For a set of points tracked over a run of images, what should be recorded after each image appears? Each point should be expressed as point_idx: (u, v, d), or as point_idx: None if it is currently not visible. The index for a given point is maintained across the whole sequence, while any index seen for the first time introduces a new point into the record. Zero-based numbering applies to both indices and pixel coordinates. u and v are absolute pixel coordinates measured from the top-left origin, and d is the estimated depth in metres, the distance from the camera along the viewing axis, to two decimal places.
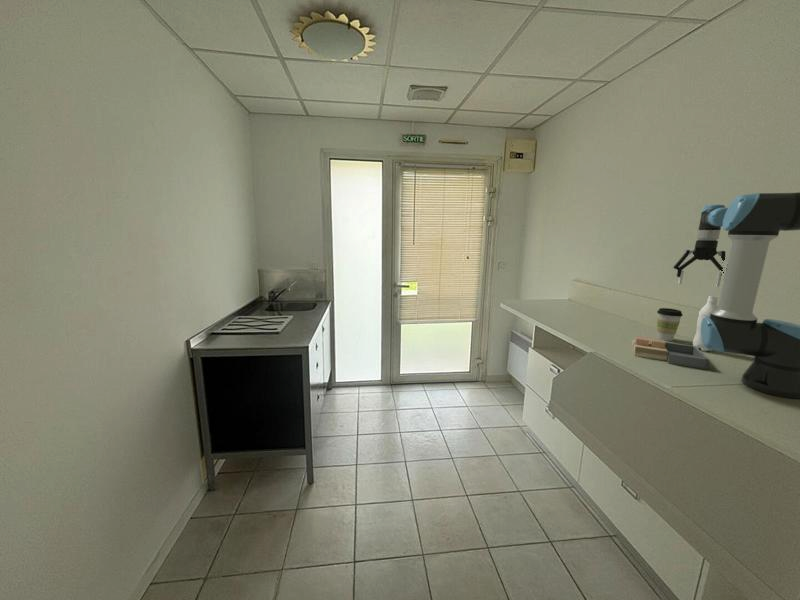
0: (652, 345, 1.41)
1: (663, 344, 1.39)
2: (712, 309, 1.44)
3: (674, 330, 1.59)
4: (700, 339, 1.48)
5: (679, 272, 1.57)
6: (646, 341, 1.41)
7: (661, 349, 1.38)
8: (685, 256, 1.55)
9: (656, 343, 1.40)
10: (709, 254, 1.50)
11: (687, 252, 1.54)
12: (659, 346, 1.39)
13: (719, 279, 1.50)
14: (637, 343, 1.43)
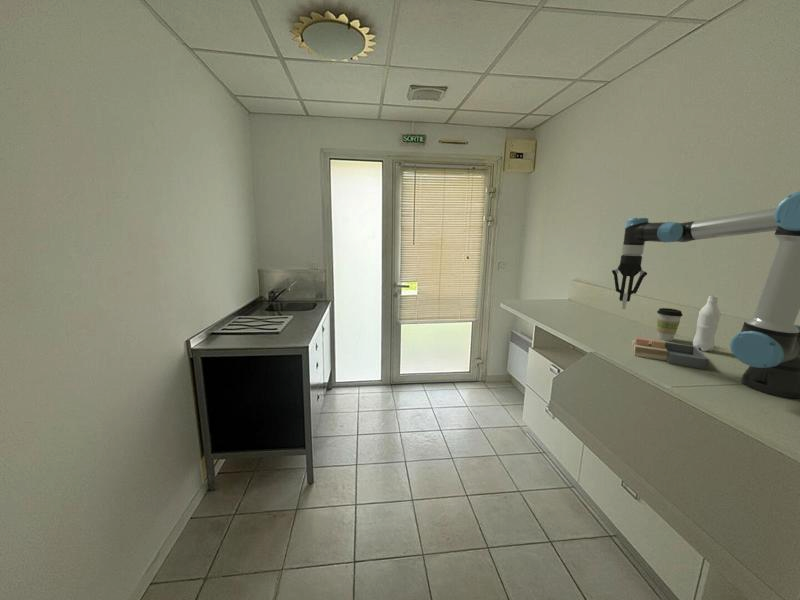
0: (652, 345, 1.41)
1: (663, 344, 1.39)
2: (712, 309, 1.44)
3: (674, 330, 1.59)
4: (700, 339, 1.48)
5: (621, 295, 1.44)
6: (646, 341, 1.41)
7: (661, 349, 1.38)
8: (615, 277, 1.44)
9: (656, 343, 1.40)
10: (633, 270, 1.40)
11: (614, 272, 1.44)
12: (659, 346, 1.39)
13: (625, 301, 1.43)
14: (637, 343, 1.43)
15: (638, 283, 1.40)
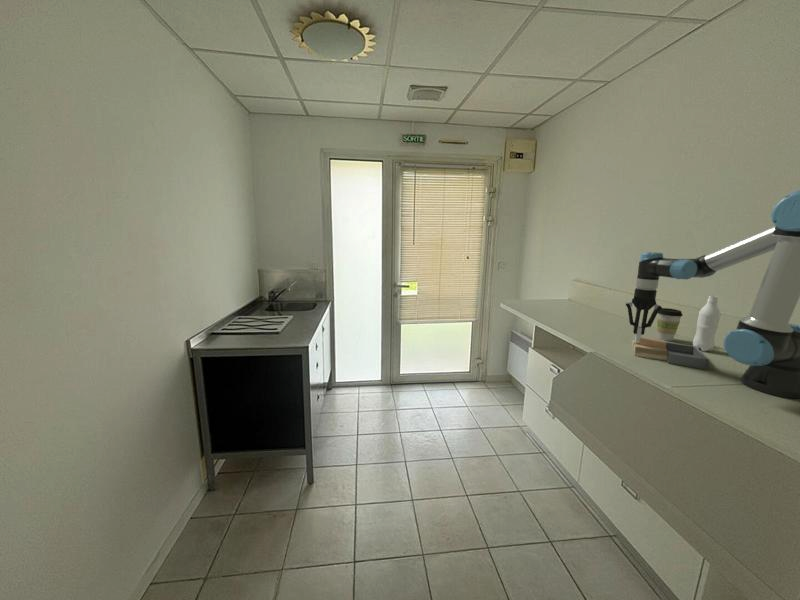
0: (653, 345, 1.40)
1: (664, 344, 1.38)
2: (712, 309, 1.44)
3: (674, 330, 1.59)
4: (700, 339, 1.48)
5: (635, 329, 1.44)
6: (650, 342, 1.41)
7: (661, 349, 1.38)
8: (629, 310, 1.43)
9: (657, 343, 1.40)
10: (647, 304, 1.39)
11: (628, 306, 1.43)
12: (660, 346, 1.39)
13: (639, 334, 1.43)
14: (641, 344, 1.42)
15: (652, 317, 1.40)
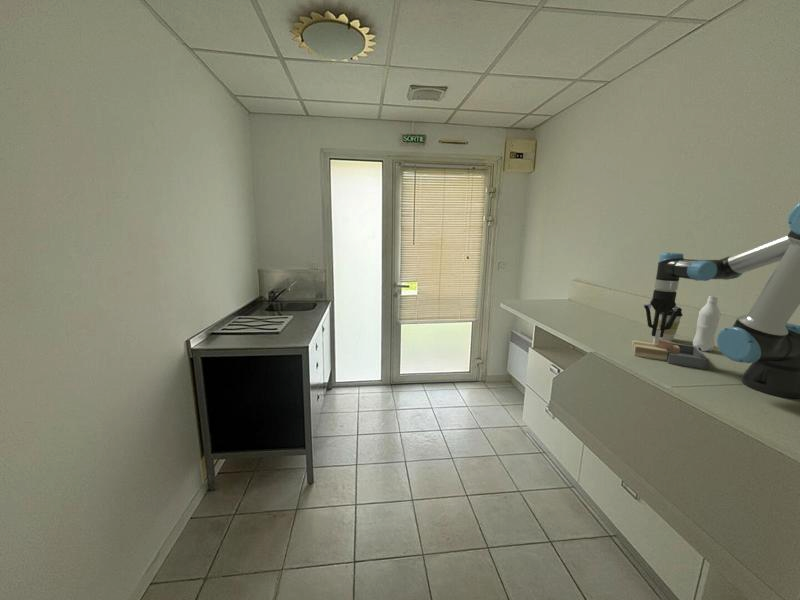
0: (674, 348, 1.37)
1: None
2: (712, 309, 1.44)
3: (674, 330, 1.59)
4: (700, 339, 1.48)
5: (654, 331, 1.40)
6: (669, 344, 1.38)
7: (661, 349, 1.38)
8: (648, 312, 1.40)
9: (677, 351, 1.37)
10: (667, 306, 1.36)
11: (646, 307, 1.40)
12: None
13: (658, 337, 1.40)
14: (660, 346, 1.39)
15: (672, 319, 1.36)
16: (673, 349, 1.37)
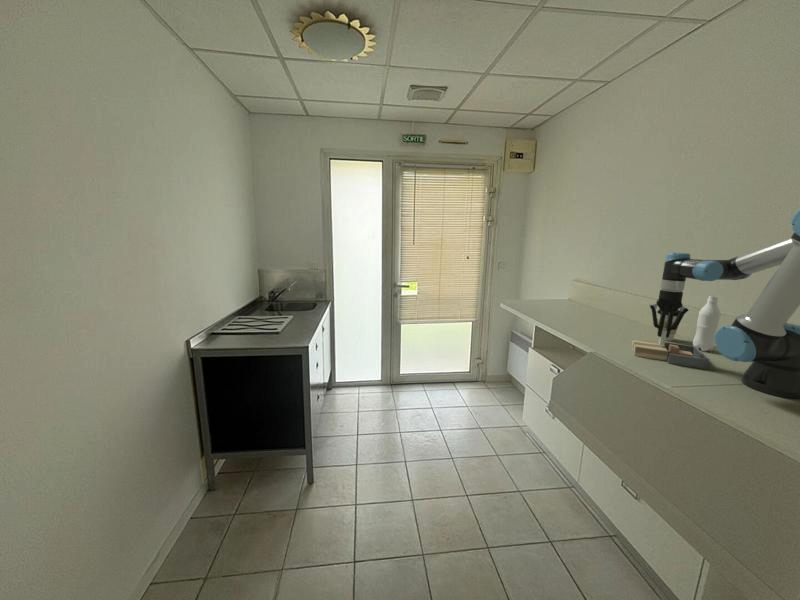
0: (691, 356, 1.35)
1: None
2: (712, 309, 1.44)
3: (674, 330, 1.59)
4: (700, 339, 1.48)
5: (660, 331, 1.40)
6: None
7: (661, 349, 1.38)
8: (654, 312, 1.39)
9: None
10: (673, 306, 1.35)
11: (652, 308, 1.39)
12: (684, 355, 1.36)
13: (664, 337, 1.39)
14: (673, 349, 1.37)
15: (678, 319, 1.35)
16: (690, 355, 1.35)
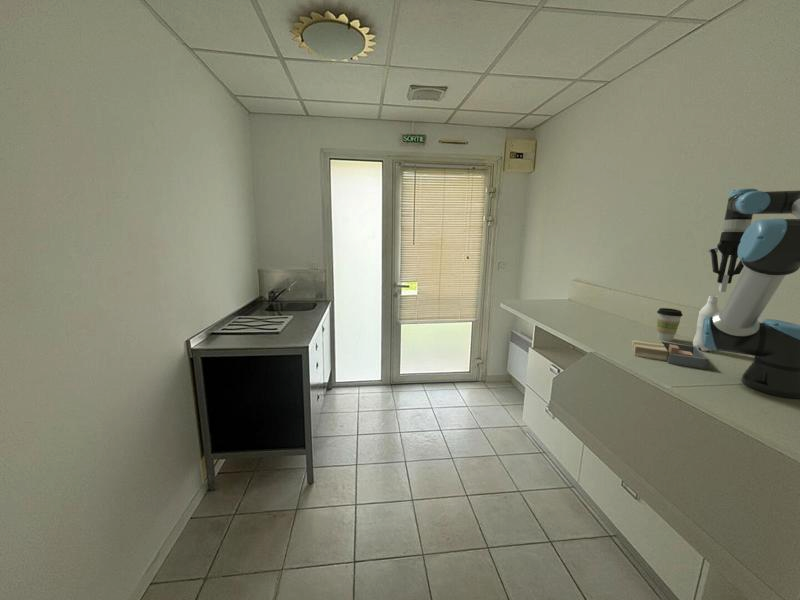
0: (691, 356, 1.35)
1: None
2: (712, 309, 1.44)
3: (674, 330, 1.59)
4: (700, 339, 1.48)
5: (721, 277, 1.30)
6: None
7: (661, 349, 1.38)
8: (715, 256, 1.29)
9: None
10: (737, 248, 1.25)
11: (713, 251, 1.30)
12: (684, 355, 1.36)
13: (726, 283, 1.29)
14: (673, 349, 1.37)
15: None
16: (690, 355, 1.35)
